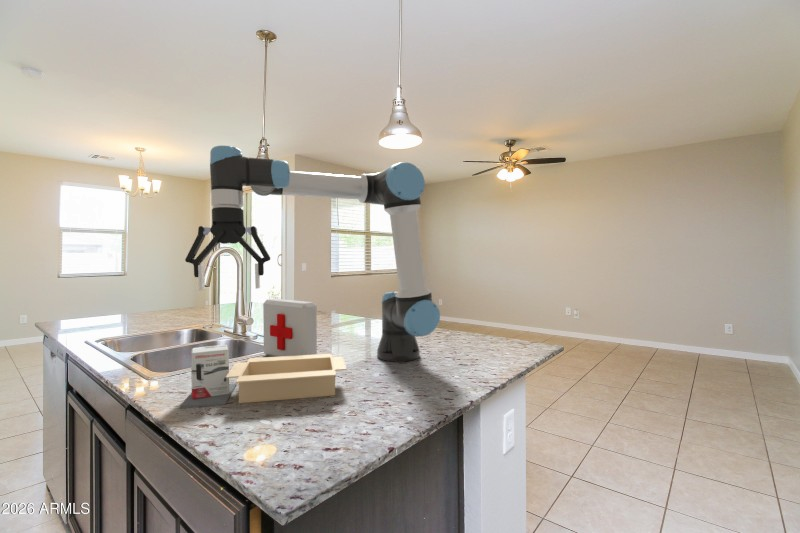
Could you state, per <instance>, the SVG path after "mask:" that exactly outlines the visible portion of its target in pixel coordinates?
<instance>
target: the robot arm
mask: <svg viewBox="0 0 800 533" xmlns="http://www.w3.org/2000/svg"><path fill="white" fill-rule="evenodd" d="M209 158H210V160H209V161H210V162H209V171H210V172H209V173H210V188H211V189H210V190H211V191H210V194H211V195H210V196H211V198H210V199H211V200H210V201H211V202H210V203H211V206H212V207H213V208H212V209H211V222H212V223H211V226H210V227H208V226H202V225H199V226H198V230H197V235H196V238H195V239H194V240H193V243H192V245H191V247H190V250H189V251H188V253H187V254H186V258H185V259H184V261H185V262H186V263H188V264H192V265H193V276H194V278H198V291H204V290H206V283H205V279H206V277H205V264H202V263H203V261H204V260H205V259H206V258H207V257H208V256H209V254H211V252H212V251H213V250H214V249H215V248H216V246H218V245H219V244H223V245H225V244H234V245H235V244H238V243H239V245H241V246H242V247H243V248H244V249H245V251H247V252H248V253H249V255H250V256H251V257H252V258H253V259H254V261H256V262H257V263H254V276H255V277H254V279H255V289H260V288H261V284H260V282H261V281H260V276H264V273H265V271H264V270H265V269H264V265H265V263H266V262H269V261H270V260H271V257H270V255H269V253H268V251H267V249H266V247H265V246H264V244H263V242H262V240H261V239H260V237H259V235H258V229H257V227H256V226H253V225H252V226H250V227H249V226H248V227H245V220H244V210H243V207H244V192H243V191H244V189H243V187H250V188H251V190H252V192H254V193H255V194H256V195H258V196H262V197H266V196H269V195H270V196H271V195H272V196H273V195H275V196H276V195H277V196H295V197H297V196H298V197H311V198H328V199H344V200H358V201H359V202H360V203H361V204H370V205H371V204H372V205H373V204H374V205H380V206H381V205H382V206H383V208H384V211H385V212H386V213H387V214H388V215H389V220H390V228H391V233H392V234H391V235H392V241H393V243H392V244H393V251H394V257H395V258H394V259H395V265H396V273H397V281H398V282H397V283H398V290H397V291H393V292H392V291H389V292H384V293H383V294H382V298H381V300H382V301H381V330H382V331H381V332H382V333H381V337H380V340H379V343H378V346H377V350H376V351H377V352H376V357H377V358H378V359H380V360H382V361H386V362H396V363H397V362H410V361H414V360H417V359H418V358H420V352H421V351H420V347H419V343H418V341H417V338H416V337H425V336H426V337H427V336H429V335H431V333H433V332H434V331H435V330H436V329H437V327H438V326H439V323H440V319H441V312H440V309H439V307H438V305H437V304H436V303H435V302H434V301H433V296H432V291H431V289H429V288H428V287H427V286H426V277H425V276H426V275H425V268H424V261H423V259H424V258H423V253H422V252H423V251H422V243H421V236H420V226H419V218H418V211H419V210H420V208H421V206H422V200H421V195H422V194H423V192H424V190H425V185H426V184H425V183H426V181H425V177H424V174H423V173H422V171H421V170H420V168H418V167H417V166H416V165H415V164H413V163H410V162H408V161H407V162H406V161H403V162H402V161H401V162H398V163H394V164H391V166H389V167H387V168H386V169H384V170H382V171H379V172H376V173H362V174H360V175H359V176H356V175H347V174H346V175H344V174H336V173H335V174H332V173H323V172H310V171H308V172H307V171H298V170H297V171H296V170H290V165H289V163H288V162H287V161H286V160H283V159H282V160H281V159H277V158H274V159H273V158H259V157H246V156H243V153H242V150H241V149H240V148H238V147H236V146H231V145H216V146H213V147H212V148H211V149H210V152H209ZM209 233H211V234H212V235H213V238H212V239H211V240H210V241H209V243H208V244H207V245H206V246H205V248H204V249H203V250H202V251H201V252H200V253H199V250H200V248H201V245H202V244H203V242H204V240H205V237H206V236H207V235H208V234H209ZM246 233H248V235H249V236H251V237H252V240H253V241H254V242H255V244H256V246H257V248H258V250H259V251H260V253H261V254H262V256H263V257H261V256H260V255H259V254H258V252H257V251H255V250H254V248H253V247H252V246H251V245H250V244H249V243H248V242H247V241H246V239H245V238H243V237H244V236H245V234H246ZM198 253H199V254H198ZM197 254H198V256H197ZM196 256H197V257H196Z"/></svg>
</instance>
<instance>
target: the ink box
mask: <svg viewBox="0 0 800 533" xmlns="http://www.w3.org/2000/svg"><path fill="white" fill-rule="evenodd" d="M229 357H230V350H229V345H227V344H217V345H209V346H199V347H193V348H191V366H190V369H191V372H190V374H191V392H192V399H199V398H205V397H212V396H218V395H225V394H229V384H230V378H226V376H227V374H228V373H229V371H230V358H229Z"/></svg>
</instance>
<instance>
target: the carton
mask: <svg viewBox="0 0 800 533" xmlns="http://www.w3.org/2000/svg"><path fill="white" fill-rule="evenodd" d="M332 354H333V353H317V354H315V355H298V356H280V357H273V356H268V357H267V356H266V357H265V356H264V357H263V356H262V357H250V358H248V359H247V361H246V362H234V364H233V366H232V367H231V369H229V373H228V374H227V376H226V378H229V379H235V378H237V379H236V381H235V384H238V404H247V403H255V402H256V403H257V402H259V403H260V402H268V401H269V402H270V401H282V400H283V401H284V400H294V399H306V398H307V399H308V398H317V397H318V398H320V397H330V396H336V376H337V371H338V372H339V371H347V366H346V362H345V359H344V357H343V356H333V355H332Z"/></svg>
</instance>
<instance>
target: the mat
mask: <svg viewBox="0 0 800 533" xmlns="http://www.w3.org/2000/svg"><path fill="white" fill-rule="evenodd" d="M236 387H237V383H229V394H225V395H218V396H212V397H205V398H199V399H192V391H191V392H190V394H188V395H187V397H186V398H185V399H184V400H183V401H182V403H181V404H180V405H179V408H180V409H183V408H185V409H186V408H195V407H206V406H207V407H208V406H210V407H211V406H219V405H220V406H221V405H227V403H228V401H229V400H230V397H231V396H232V395H233V392H234V390H236Z"/></svg>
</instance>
